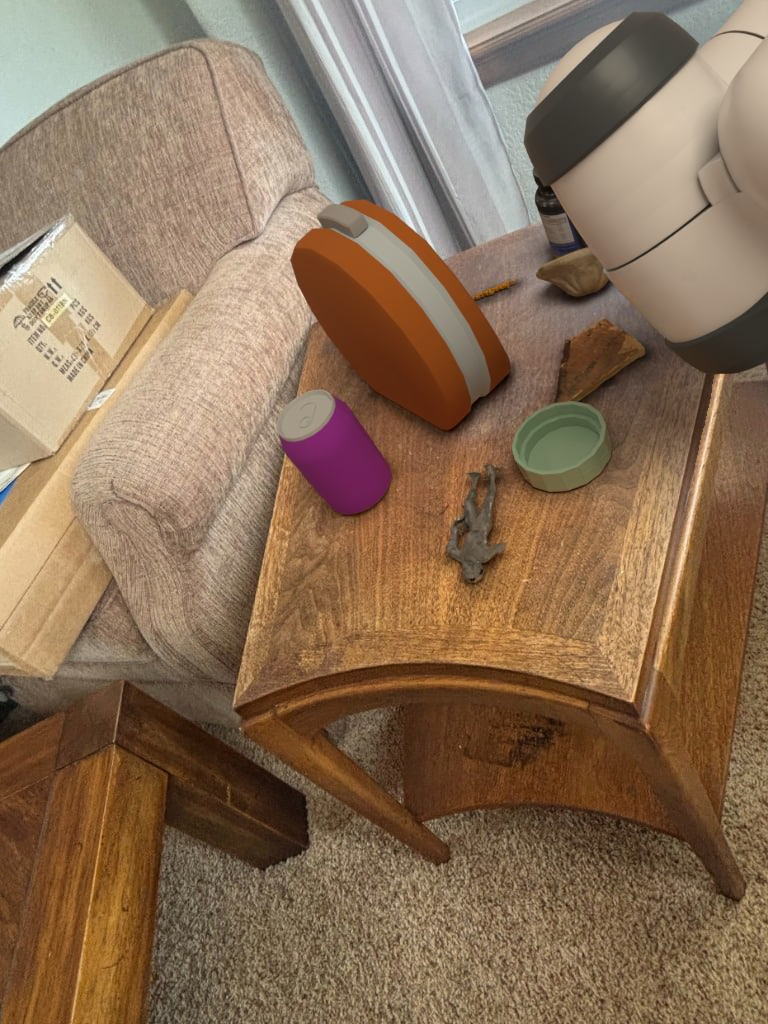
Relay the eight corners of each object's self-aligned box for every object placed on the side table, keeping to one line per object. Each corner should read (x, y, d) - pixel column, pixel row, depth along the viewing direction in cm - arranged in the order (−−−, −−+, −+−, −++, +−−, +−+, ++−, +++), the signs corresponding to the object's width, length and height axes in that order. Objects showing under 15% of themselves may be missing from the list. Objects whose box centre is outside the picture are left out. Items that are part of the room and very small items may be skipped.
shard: (556, 422, 71) (551, 410, 69) (515, 386, 76) (510, 374, 75) (649, 356, 70) (645, 343, 69) (601, 325, 76) (597, 312, 74)
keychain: (453, 303, 89) (456, 311, 89) (451, 303, 88) (454, 311, 88) (515, 277, 86) (517, 285, 86) (514, 276, 85) (517, 285, 86)
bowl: (598, 410, 69) (590, 388, 67) (624, 473, 64) (617, 451, 62) (514, 443, 72) (504, 423, 69) (532, 507, 66) (522, 487, 64)
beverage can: (394, 507, 74) (337, 430, 65) (328, 526, 76) (264, 454, 68) (395, 452, 78) (342, 373, 70) (333, 472, 81) (274, 398, 73)
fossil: (639, 224, 73) (543, 256, 74) (652, 267, 74) (556, 298, 74) (612, 249, 82) (527, 278, 83) (624, 287, 82) (538, 315, 83)
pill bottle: (597, 224, 85) (573, 136, 78) (616, 249, 81) (592, 159, 74) (547, 249, 87) (519, 165, 79) (563, 275, 83) (534, 189, 75)
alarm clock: (537, 380, 75) (456, 185, 59) (471, 446, 74) (369, 264, 58) (411, 325, 91) (320, 159, 75) (354, 379, 89) (249, 221, 74)
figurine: (505, 449, 66) (478, 554, 59) (529, 475, 68) (506, 581, 61) (453, 469, 71) (422, 569, 64) (477, 493, 72) (450, 594, 65)
